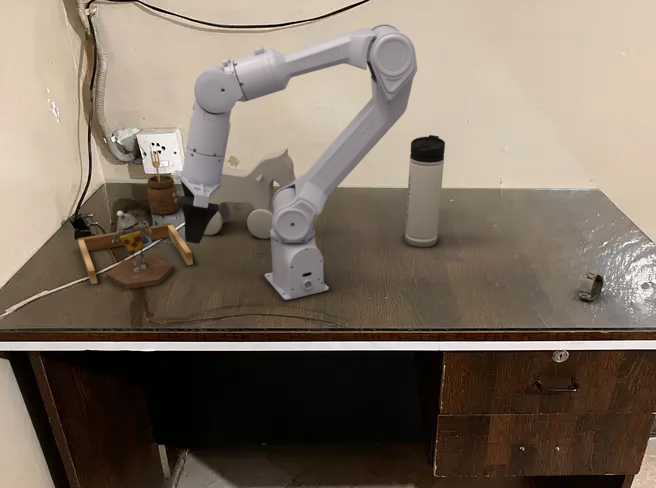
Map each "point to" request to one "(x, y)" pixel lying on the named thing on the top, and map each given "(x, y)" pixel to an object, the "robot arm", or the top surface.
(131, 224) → the robot figurine
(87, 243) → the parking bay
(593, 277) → the wristwatch
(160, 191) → the utensil holder
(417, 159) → the travel mug
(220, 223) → the pony
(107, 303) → the top surface
